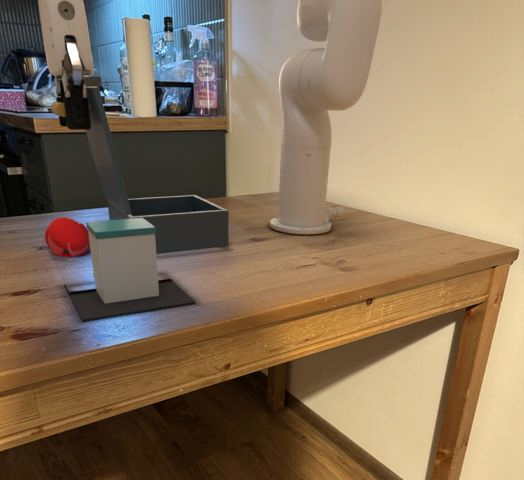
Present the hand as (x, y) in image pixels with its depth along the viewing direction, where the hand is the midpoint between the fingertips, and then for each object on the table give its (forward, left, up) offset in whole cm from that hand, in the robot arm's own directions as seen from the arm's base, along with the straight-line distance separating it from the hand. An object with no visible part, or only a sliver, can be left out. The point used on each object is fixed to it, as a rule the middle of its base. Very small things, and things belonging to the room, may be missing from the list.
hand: (75, 126), depth 74 cm
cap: (+3, +1, -19) cm, 20 cm away
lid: (-4, 0, -3) cm, 5 cm away
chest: (-13, 0, -19) cm, 23 cm away
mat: (0, +22, -19) cm, 29 cm away
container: (0, +22, -19) cm, 29 cm away
